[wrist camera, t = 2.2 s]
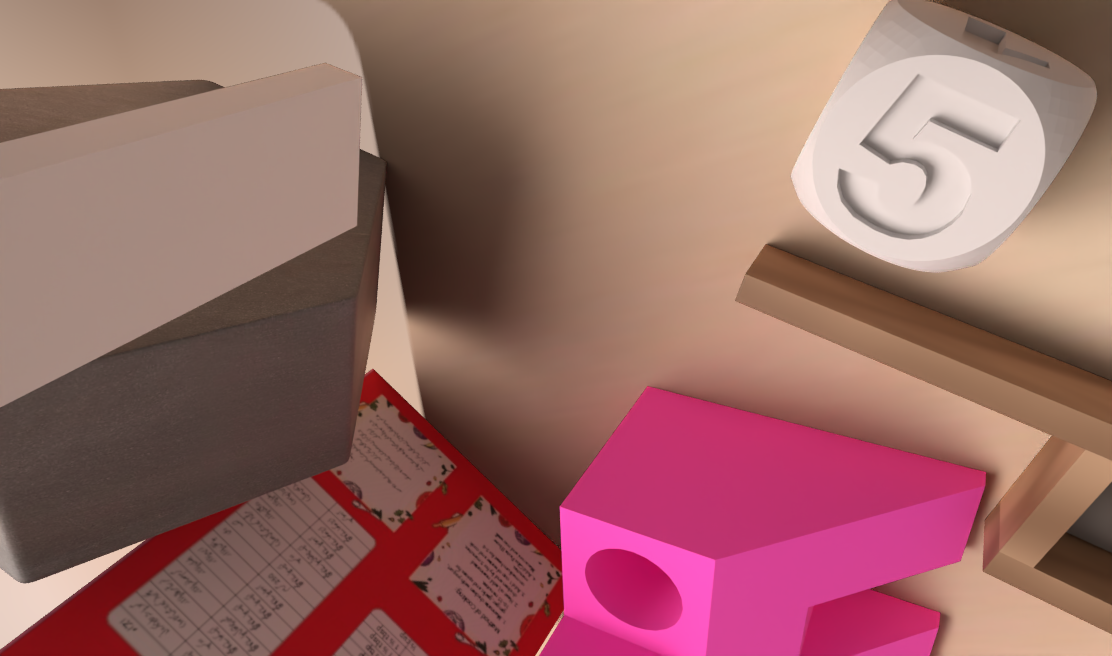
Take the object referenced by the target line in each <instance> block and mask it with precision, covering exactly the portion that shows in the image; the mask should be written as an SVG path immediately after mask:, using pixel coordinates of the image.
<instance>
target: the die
mask: <svg viewBox="0 0 1112 656" xmlns="http://www.w3.org/2000/svg"><path fill="white" fill-rule="evenodd" d="M1096 100H1097V90H1096V85H1095V82H1094V80H1093V79H1092V78H1091V77H1090V76H1089V75H1088V74H1086V73H1085V72H1084V71H1082V70H1081V69H1080V68H1078V67H1077V66H1075V65H1074V64H1072V63H1070V62H1069V61H1067V60H1065V59H1064V58H1062V57H1060V56H1059V55H1057V54H1055V53H1053V52H1051V51H1049V50H1048V49H1046V48H1044V47H1042V46H1040V45H1038V44H1036V43H1034V42H1032V41H1030V40H1028V39H1026V38H1024V37H1022V36H1019V35H1017V34H1015V33H1013V32H1011V31H1008V30H1006V29H1004V28H1002V27H999V26H997V25H995V24H992V23H990V22H987V21H985V20H983V19H980V18H978V17H975V16H972V15H970V14H967V13H964V12H962V11H959V10H956V9H953V8H950V7H947V6H944V5H941V4H938V3H934V2H931V1H927V0H891V1H889V2H888V3H887V5H886V6H885V7H884V9H883V10H882V12H881V13H880V15H879V16H878V18H877V19H876V21H875V22H874V24H873V25H872V27H871V29H870V30H869V32H868V33H867V35H866V37H865V38H864V40H863V42H862V43H861V45H860V47H859V48H858V50H857V52H856V53H855V55H854V57H853V58H852V60H851V62H850V64H849V65H848V67H847V69H846V70H845V72H844V74H843V76H842V77H841V79H840V81H839V83H838V84H837V86H836V88H835V90H834V91H833V93H832V95H831V97H830V99H829V100H828V102H827V104H826V106H825V108H824V109H823V111H822V113H821V115H820V117H819V119H818V121H817V122H816V124H815V126H814V128H813V130H812V132H811V134H810V136H809V137H808V139H807V141H806V143H805V145H804V147H803V149H802V151H801V153H800V155H799V157H798V159H797V161H796V163H795V166H794V168H793V170H792V173H791V179H792V182H793V185H794V188H795V191H796V194H797V196H798V198H799V200H800V201H801V203H802V204H803V206H804V207H805V208H806V209H807V211H808V212H809V213H810V214H811V215H812V216H813V217H814V218H815V219H816V220H817V221H819V222H820V223H821V224H822V225H823V226H825V227H826V228H827V229H829V230H830V231H831V232H833V233H834V234H835V235H837V236H838V237H840V238H841V239H843V240H845V241H846V242H848V243H850V244H851V245H853V246H855V247H857V248H858V249H860V250H862V251H864V252H866V253H868V254H870V255H873V256H875V257H877V258H879V259H882V260H884V261H887V262H889V263H892V264H895V265H898V266H901V267H905V268H908V269H912V270H917V271H923V272H946V271H953V270H958V269H962V268H967V267H971V266H975V265H977V264H979V263H981V262H982V261H983V260H985V259H986V258H987V257H988V256H990V255H991V254H992V253H993V252H994V251H995V250H996V249H997V248H998V247H999V246H1000V245H1001V244H1002V243H1003V242H1004V241H1005V240H1006V239H1007V238H1008V237H1009V236H1010V235H1011V234H1012V233H1013V231H1014V230H1015V229H1016V228H1017V227H1018V226H1019V224H1020V223H1021V222H1022V221H1023V220H1024V218H1025V217H1026V216H1027V215H1028V214H1029V212H1030V211H1031V210H1032V208H1033V207H1034V206H1035V205H1036V203H1037V202H1038V201H1039V199H1040V198H1041V197H1042V195H1043V194H1044V193H1045V191H1046V190H1047V189H1048V187H1049V186H1050V184H1051V183H1052V181H1053V180H1054V179H1055V177H1056V176H1057V174H1058V173H1059V171H1060V170H1061V168H1062V167H1063V165H1064V164H1065V162H1066V160H1067V159H1068V157H1069V156H1070V154H1071V152H1072V151H1073V149H1074V147H1075V146H1076V144H1077V142H1078V141H1079V139H1080V137H1081V135H1082V133H1083V131H1084V130H1085V128H1086V126H1087V124H1088V122H1089V119H1090V117H1091V115H1092V112H1093V110H1094V107H1095V104H1096Z"/></svg>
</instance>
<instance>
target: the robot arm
mask: <svg viewBox="0 0 1112 656" xmlns="http://www.w3.org/2000/svg"><path fill="white" fill-rule="evenodd" d="M361 90H362V77H360V76H358V75H355V74H352V73H350V72H347V71H345V70H342V69H340V68H337V67H335V66H332V65H330V64H327V63H323V64H319V65H315V66H311V67H306V68H302V69H298V70H294V71H290V72H287V73H282V74H278V75H274V76H270V77H266V78H262V79H258V80H254V81H250V82H246V83H242V84H238V85H234V86H230V87H226V88H221V89H217V90H213V91H209V92H205V93H201V94H197V95H193V96H189V97H185V98H181V99H177V100H173V101H169V102H164V103H160V104H156V105H152V106H148V107H144V108H140V109H136V110H132V111H128V112H124V113H120V114H116V115H112V116H108V117H104V118H100V119H96V120H91V121H87V122H83V123H79V124H75V125H71V126H67V127H63V128H59V129H55V130H51V131H47V132H43V133H39V134H35V135H31V136H27V137H22V138H18V139H14V140H10V141H6V142H2V143H0V407H2V406H4V405H6V404H8V403H10V402H12V401H14V400H16V399H18V398H20V397H22V396H24V395H26V394H28V393H30V392H32V391H34V390H35V389H37V388H39V387H41V386H43V385H45V384H47V383H49V382H51V381H53V380H55V379H57V378H59V377H61V376H63V375H65V374H67V373H69V372H71V371H73V370H75V369H77V368H79V367H81V366H83V365H85V364H87V363H88V362H90V361H92V360H94V359H96V358H98V357H100V356H102V355H104V354H106V353H108V352H110V351H112V350H114V349H116V348H118V347H120V346H122V345H124V344H126V343H128V342H130V341H132V340H134V339H136V338H138V337H140V336H142V335H143V334H145V333H147V332H149V331H151V330H153V329H155V328H157V327H159V326H161V325H163V324H165V323H167V322H169V321H171V320H173V319H175V318H177V317H179V316H181V315H183V314H185V313H187V312H189V311H191V310H193V309H195V308H197V307H198V306H200V305H202V304H204V303H206V302H208V301H210V300H212V299H214V298H216V297H218V296H220V295H222V294H224V293H226V292H228V291H230V290H232V289H234V288H236V287H238V286H240V285H242V284H244V283H246V282H248V281H250V280H251V279H253V278H255V277H257V276H259V275H261V274H263V273H265V272H267V271H269V270H271V269H273V268H275V267H277V266H279V265H281V264H283V263H285V262H287V261H289V260H291V259H293V258H295V257H297V256H299V255H301V254H303V253H305V252H306V251H308V250H310V249H312V248H314V247H316V246H318V245H320V244H322V243H324V242H326V241H328V240H330V239H332V238H334V237H336V236H338V235H340V234H342V233H344V232H346V231H348V230H350V229H352V228H354V227H356V226H357V209H358V180H359V151H360V121H361V93H362V91H361Z"/></svg>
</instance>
